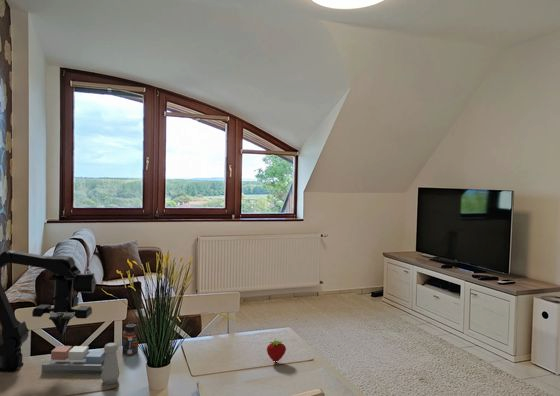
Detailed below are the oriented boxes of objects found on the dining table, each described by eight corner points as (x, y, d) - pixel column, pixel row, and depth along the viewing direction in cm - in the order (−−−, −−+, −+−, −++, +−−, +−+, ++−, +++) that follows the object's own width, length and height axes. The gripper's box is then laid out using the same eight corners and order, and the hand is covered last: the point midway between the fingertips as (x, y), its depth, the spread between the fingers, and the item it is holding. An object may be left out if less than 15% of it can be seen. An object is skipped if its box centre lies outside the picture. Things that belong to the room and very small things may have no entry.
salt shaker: (112, 387, 141) (113, 348, 140) (97, 384, 142) (98, 346, 141) (122, 379, 146) (123, 342, 146) (107, 376, 148) (108, 340, 147)
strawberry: (287, 365, 163) (288, 339, 162) (267, 366, 161) (269, 340, 160) (283, 358, 168) (284, 334, 168) (264, 360, 166) (265, 335, 166)
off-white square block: (68, 359, 151) (68, 351, 151) (74, 354, 156) (74, 346, 156) (82, 360, 152) (82, 351, 152) (88, 354, 157) (88, 346, 157)
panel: (41, 373, 148) (41, 364, 148) (57, 359, 160) (57, 350, 160) (100, 374, 149) (100, 365, 149) (112, 359, 161) (112, 351, 161)
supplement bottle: (133, 357, 164) (134, 328, 163) (119, 355, 165) (119, 327, 164) (140, 351, 170) (141, 323, 169) (127, 349, 171) (127, 322, 170)
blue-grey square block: (85, 364, 152) (85, 356, 152) (90, 358, 157) (91, 350, 157) (99, 365, 152) (100, 356, 152) (104, 359, 157) (105, 351, 157)
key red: (51, 359, 151) (51, 351, 151) (57, 353, 156) (57, 345, 156) (65, 359, 151) (65, 351, 151) (71, 354, 156) (71, 346, 156)
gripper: (98, 287, 161) (96, 327, 162) (47, 285, 160) (46, 326, 161) (86, 295, 150) (85, 339, 151) (32, 293, 149) (30, 337, 150)
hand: (62, 334), depth 153 cm, fingers closed
